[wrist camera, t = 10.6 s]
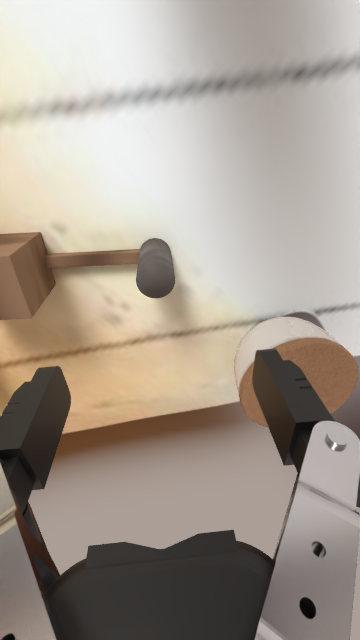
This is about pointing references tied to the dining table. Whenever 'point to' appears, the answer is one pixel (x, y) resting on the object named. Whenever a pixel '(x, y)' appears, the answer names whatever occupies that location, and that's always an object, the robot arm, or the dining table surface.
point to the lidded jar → (296, 361)
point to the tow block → (35, 266)
